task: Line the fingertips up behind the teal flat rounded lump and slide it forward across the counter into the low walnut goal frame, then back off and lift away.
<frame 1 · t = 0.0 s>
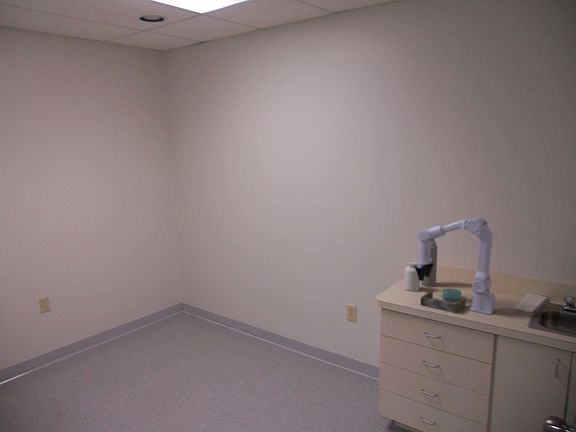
hand: (424, 278, 217), 10 cm above the counter, fingers open, 7 cm apart
thermos bottle: (428, 284, 239), on the counter
goal: (442, 305, 207), on the counter
teal flat rounded lump: (451, 298, 216), on the counter
pill bottle: (412, 289, 232), on the counter
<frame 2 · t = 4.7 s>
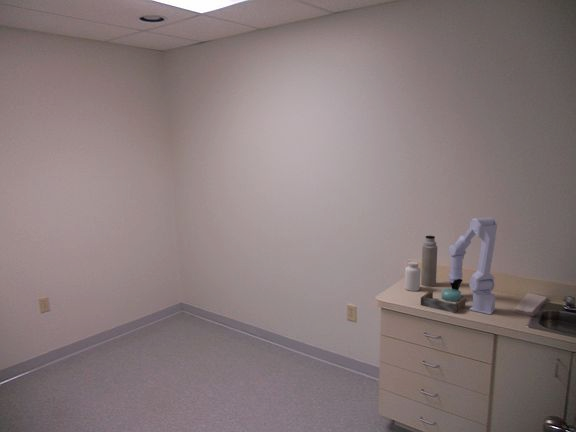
hand: (455, 292, 220), 2 cm above the counter, fingers closed
teal flat rounded lump: (451, 298, 216), on the counter, touching gripper
everything else where it was.
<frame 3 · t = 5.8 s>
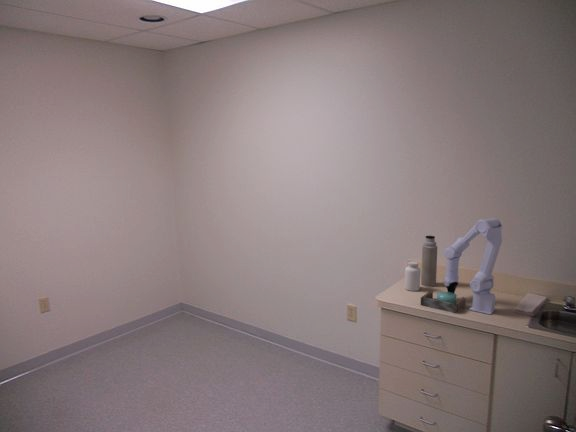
hand: (451, 296, 215), 2 cm above the counter, fingers closed
teal flat rounded lump: (446, 302, 211), on the counter, touching gripper
everything else where it was.
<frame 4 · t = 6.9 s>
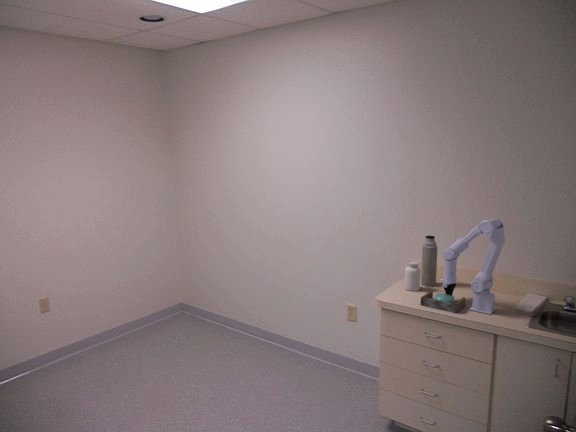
hand: (448, 297, 213), 2 cm above the counter, fingers closed
teal flat rounded lump: (444, 304, 209), on the counter
everything else where it was.
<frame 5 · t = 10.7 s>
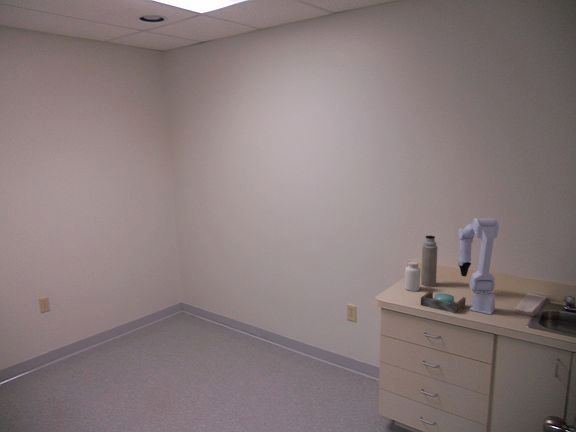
hand: (464, 275, 223), 9 cm above the counter, fingers closed
nothing on the counter moved.
at the end: teal flat rounded lump inside the target area on the goal (2.7 cm from its centre), point 0.0 cm above the goal's base; teal flat rounded lump moved 9.8 cm from its start; the gripper is holding nothing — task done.
